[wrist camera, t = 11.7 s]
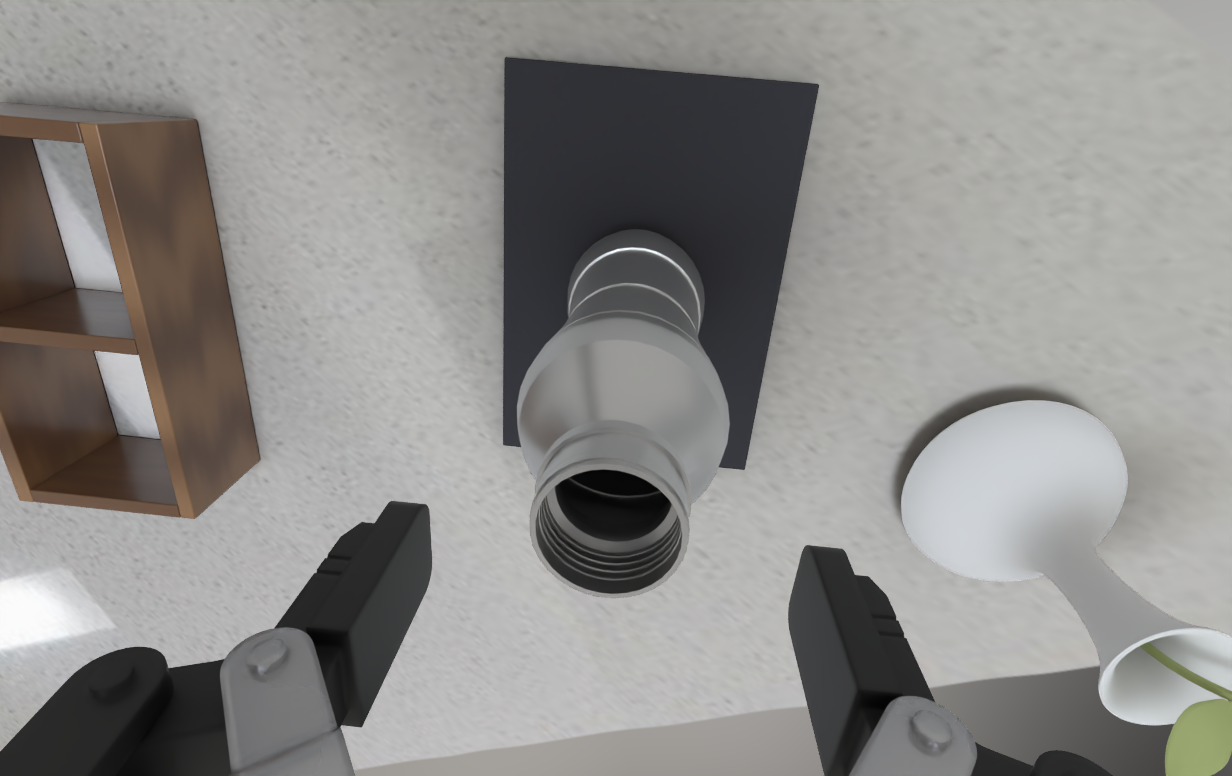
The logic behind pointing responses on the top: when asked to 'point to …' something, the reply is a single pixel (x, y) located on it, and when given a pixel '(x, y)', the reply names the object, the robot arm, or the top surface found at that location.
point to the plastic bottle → (622, 419)
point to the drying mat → (651, 203)
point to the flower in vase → (1070, 560)
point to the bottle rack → (118, 322)
